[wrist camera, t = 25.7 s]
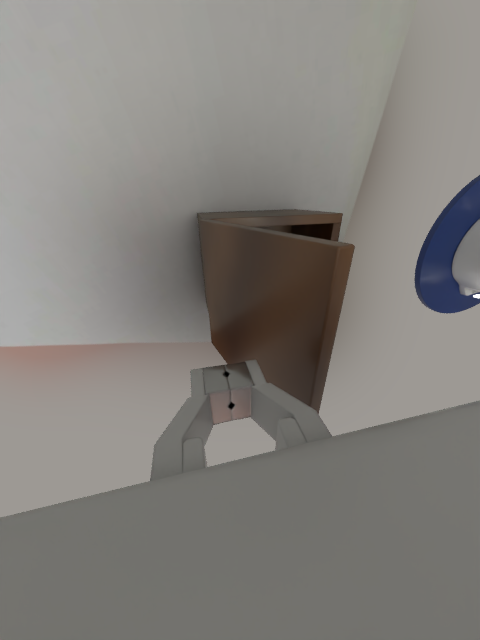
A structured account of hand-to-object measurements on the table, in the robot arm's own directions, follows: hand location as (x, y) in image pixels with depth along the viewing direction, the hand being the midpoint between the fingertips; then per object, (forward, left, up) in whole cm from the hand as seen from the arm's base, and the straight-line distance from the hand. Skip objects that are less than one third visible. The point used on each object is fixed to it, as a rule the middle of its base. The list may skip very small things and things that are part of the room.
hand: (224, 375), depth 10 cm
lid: (-3, 0, -5) cm, 6 cm away
